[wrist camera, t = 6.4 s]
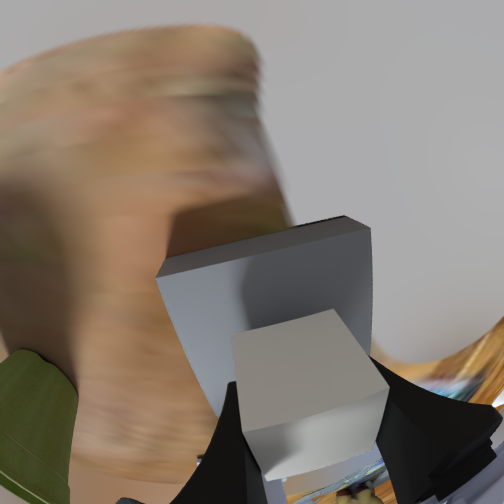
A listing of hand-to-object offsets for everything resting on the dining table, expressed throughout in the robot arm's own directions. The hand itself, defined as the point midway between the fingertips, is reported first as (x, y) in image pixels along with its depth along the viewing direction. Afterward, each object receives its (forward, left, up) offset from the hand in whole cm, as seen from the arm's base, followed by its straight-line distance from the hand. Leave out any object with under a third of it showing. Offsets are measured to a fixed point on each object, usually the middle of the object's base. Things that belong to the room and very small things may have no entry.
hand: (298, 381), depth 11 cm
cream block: (0, 0, -2) cm, 2 cm away
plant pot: (-3, +20, -6) cm, 21 cm away
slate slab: (0, 0, -6) cm, 6 cm away
